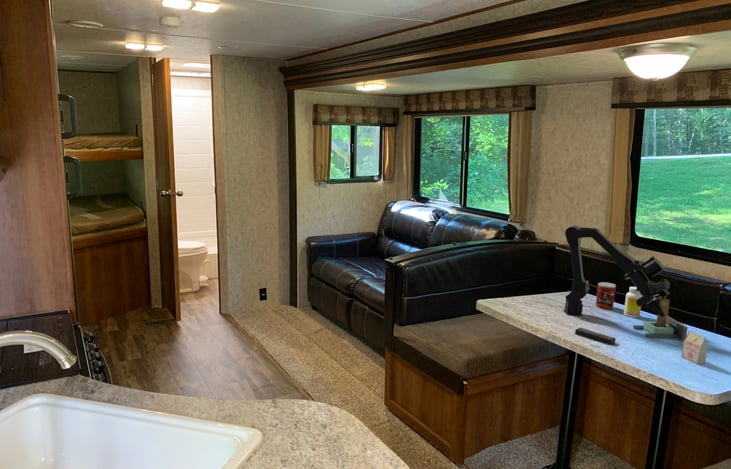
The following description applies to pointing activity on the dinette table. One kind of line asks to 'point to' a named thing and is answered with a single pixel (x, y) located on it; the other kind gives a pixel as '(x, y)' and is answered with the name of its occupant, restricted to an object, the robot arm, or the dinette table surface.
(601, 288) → the canned food
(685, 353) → the gable top carton
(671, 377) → the dinette table surface
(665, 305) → the walnut dowel
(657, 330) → the sliding socket block
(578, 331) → the multiport hub
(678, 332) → the rail and backstop frame
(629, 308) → the supplement bottle
